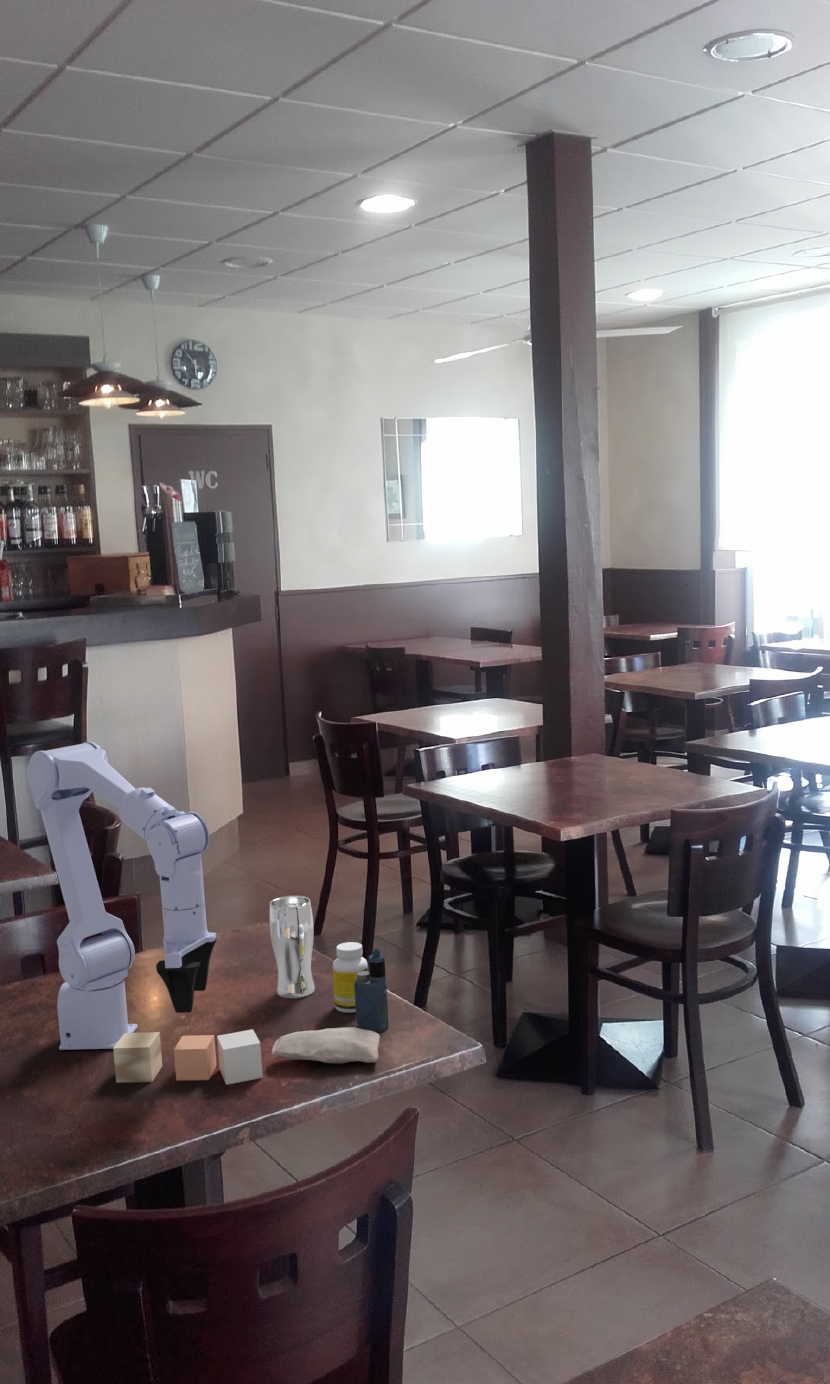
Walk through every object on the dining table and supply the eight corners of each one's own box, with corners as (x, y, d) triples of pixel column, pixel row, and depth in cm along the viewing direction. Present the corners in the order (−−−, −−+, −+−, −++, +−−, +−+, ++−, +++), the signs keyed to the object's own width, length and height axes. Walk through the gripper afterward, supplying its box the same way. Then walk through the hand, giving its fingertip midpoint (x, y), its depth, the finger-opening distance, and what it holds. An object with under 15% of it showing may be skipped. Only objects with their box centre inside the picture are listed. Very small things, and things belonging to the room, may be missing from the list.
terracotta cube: (176, 1081, 161) (173, 1049, 160) (184, 1066, 165) (182, 1035, 165) (208, 1080, 161) (206, 1049, 160) (216, 1066, 165) (214, 1035, 165)
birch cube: (116, 1083, 161) (113, 1048, 161) (127, 1067, 166) (124, 1033, 166) (152, 1082, 161) (149, 1047, 160) (162, 1066, 166) (159, 1032, 165)
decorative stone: (379, 1041, 160) (268, 1049, 160) (381, 1071, 161) (270, 1079, 161) (378, 1012, 170) (273, 1019, 170) (380, 1040, 171) (275, 1047, 170)
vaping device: (382, 1033, 173) (378, 954, 171) (353, 1027, 176) (348, 949, 174) (392, 1027, 175) (388, 949, 173) (363, 1021, 178) (358, 944, 176)
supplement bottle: (365, 1014, 180) (361, 952, 179) (330, 1013, 181) (326, 951, 180) (373, 1001, 186) (369, 940, 184) (340, 1000, 187) (336, 940, 185)
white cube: (226, 1085, 159) (223, 1049, 158) (219, 1070, 164) (217, 1035, 163) (262, 1078, 160) (260, 1043, 160) (255, 1063, 165) (253, 1029, 165)
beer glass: (326, 987, 192) (320, 898, 190) (299, 1002, 186) (293, 910, 184) (292, 981, 196) (286, 893, 194) (265, 995, 190) (259, 905, 188)
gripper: (199, 920, 153) (207, 1021, 154) (224, 887, 167) (231, 980, 169) (145, 922, 153) (154, 1022, 155) (175, 889, 167) (182, 981, 169)
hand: (191, 1000), depth 162 cm, fingers open, 7 cm apart
